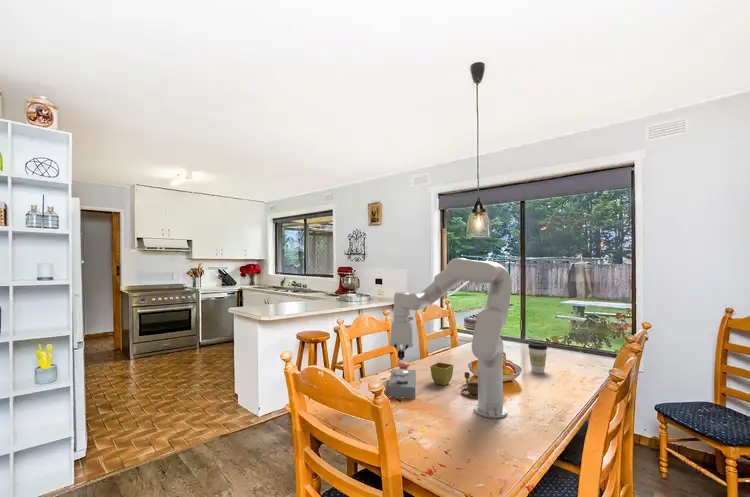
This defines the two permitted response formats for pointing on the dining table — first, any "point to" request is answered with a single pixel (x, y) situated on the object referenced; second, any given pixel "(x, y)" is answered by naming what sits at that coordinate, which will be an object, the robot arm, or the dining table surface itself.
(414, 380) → the block
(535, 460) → the dining table surface
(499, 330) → the robot arm
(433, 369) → the flower pot
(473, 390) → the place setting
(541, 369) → the coffee cup
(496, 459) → the dining table surface
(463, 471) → the dining table surface
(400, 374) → the metal plunger
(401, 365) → the terracotta plunger
